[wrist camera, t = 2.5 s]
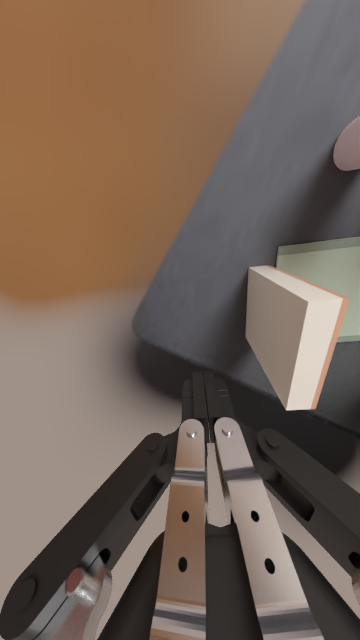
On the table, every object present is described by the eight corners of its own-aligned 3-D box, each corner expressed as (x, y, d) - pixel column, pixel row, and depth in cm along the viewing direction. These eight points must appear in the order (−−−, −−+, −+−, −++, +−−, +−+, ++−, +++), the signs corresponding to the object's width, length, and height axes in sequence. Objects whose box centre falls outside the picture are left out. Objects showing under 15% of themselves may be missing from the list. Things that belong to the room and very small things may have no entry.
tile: (268, 265, 22) (350, 297, 11) (262, 335, 26) (315, 408, 15) (248, 267, 22) (308, 301, 11) (245, 336, 26) (285, 410, 15)
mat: (432, 227, 19) (436, 227, 19) (383, 337, 25) (385, 338, 25) (277, 246, 21) (279, 246, 20) (266, 346, 27) (267, 347, 26)
